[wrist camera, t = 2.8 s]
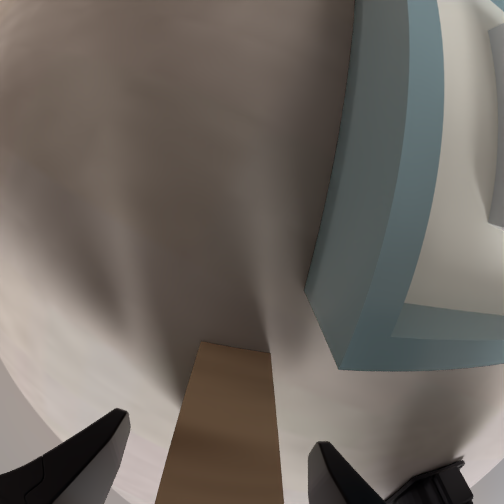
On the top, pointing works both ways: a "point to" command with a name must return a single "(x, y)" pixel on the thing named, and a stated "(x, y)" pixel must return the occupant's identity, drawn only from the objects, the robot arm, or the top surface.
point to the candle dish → (416, 192)
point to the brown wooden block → (225, 433)
